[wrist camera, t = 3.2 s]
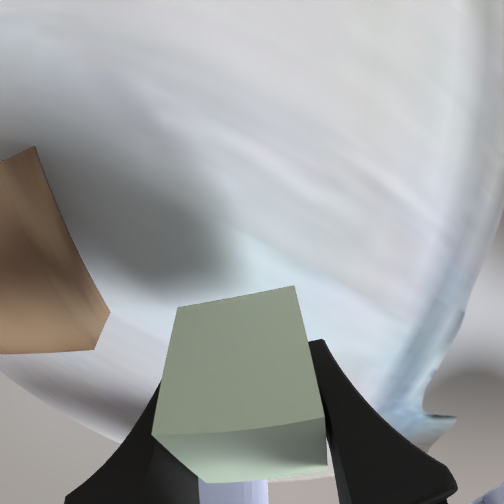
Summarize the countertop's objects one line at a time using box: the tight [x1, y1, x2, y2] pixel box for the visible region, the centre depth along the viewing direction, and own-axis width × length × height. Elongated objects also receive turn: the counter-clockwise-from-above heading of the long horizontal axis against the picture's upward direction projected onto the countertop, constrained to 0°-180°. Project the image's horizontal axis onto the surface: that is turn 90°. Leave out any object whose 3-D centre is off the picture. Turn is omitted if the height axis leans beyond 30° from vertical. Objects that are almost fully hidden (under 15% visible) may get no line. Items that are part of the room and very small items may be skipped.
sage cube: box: [151, 286, 328, 483], centre depth 10 cm, size 4×4×6 cm
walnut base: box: [0, 146, 110, 354], centre depth 13 cm, size 10×10×3 cm
